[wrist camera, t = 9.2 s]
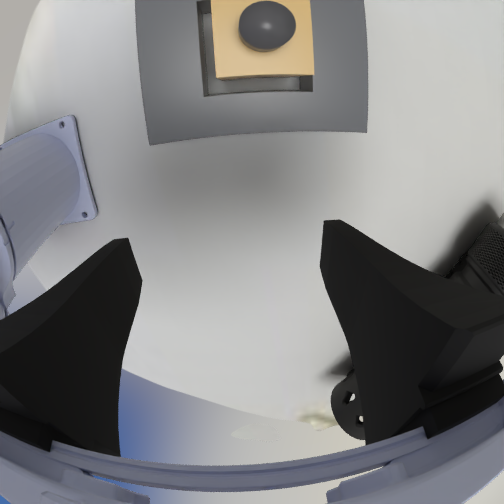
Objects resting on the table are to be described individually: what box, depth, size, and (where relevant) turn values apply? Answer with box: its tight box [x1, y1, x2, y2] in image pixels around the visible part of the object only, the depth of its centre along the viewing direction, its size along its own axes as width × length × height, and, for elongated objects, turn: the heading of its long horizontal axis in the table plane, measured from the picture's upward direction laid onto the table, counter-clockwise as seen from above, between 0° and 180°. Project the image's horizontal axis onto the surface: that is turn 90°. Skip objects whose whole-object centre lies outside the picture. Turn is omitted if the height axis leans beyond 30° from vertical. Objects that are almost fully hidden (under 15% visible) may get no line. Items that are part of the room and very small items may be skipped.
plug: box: [211, 0, 314, 80], centre depth 10 cm, size 4×4×8 cm
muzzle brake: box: [331, 213, 504, 440], centre depth 23 cm, size 10×28×10 cm, turn 152°
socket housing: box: [135, 0, 368, 145], centre depth 12 cm, size 12×10×3 cm
